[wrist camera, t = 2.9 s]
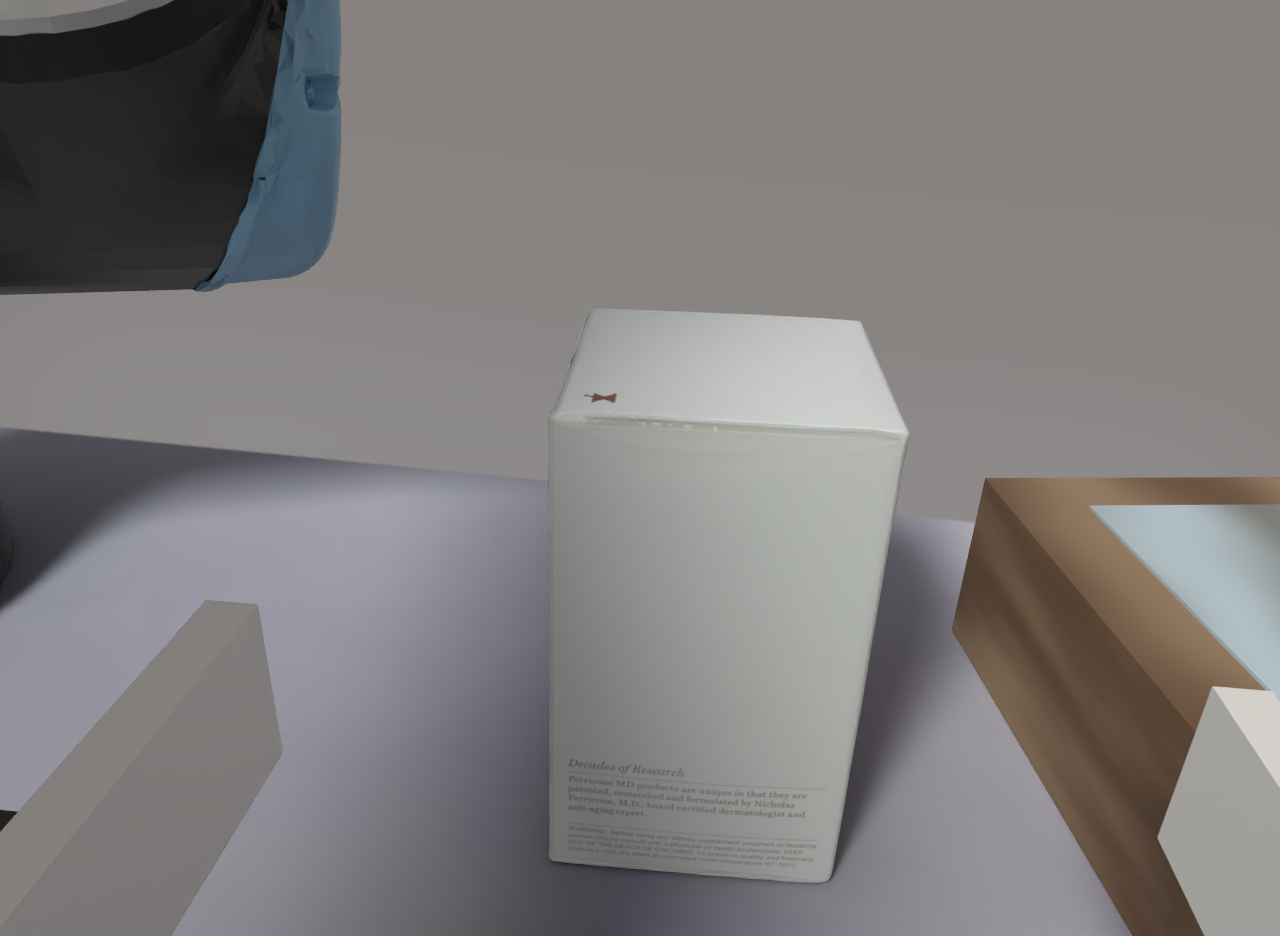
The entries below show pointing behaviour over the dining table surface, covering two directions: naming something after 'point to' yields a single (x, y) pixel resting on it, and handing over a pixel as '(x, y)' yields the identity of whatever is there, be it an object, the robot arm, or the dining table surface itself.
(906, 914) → the dining table surface
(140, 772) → the robot arm
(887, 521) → the supplement box
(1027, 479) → the walnut plinth
